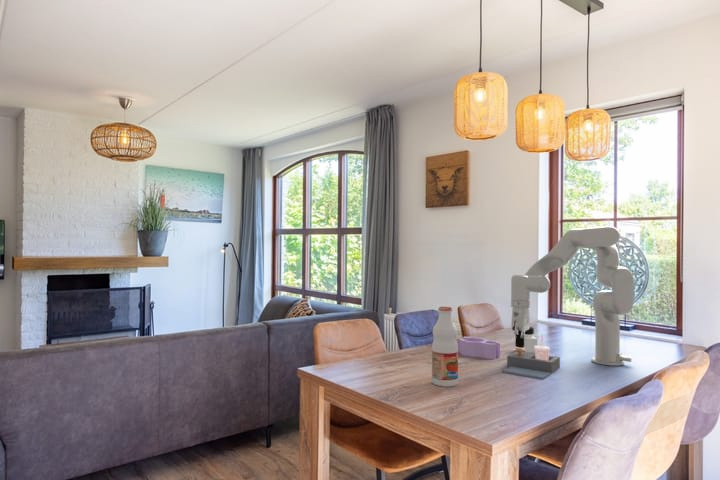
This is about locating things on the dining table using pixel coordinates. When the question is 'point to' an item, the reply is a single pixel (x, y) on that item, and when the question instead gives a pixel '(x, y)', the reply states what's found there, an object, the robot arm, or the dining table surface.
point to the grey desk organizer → (533, 362)
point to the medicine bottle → (529, 341)
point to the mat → (526, 372)
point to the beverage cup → (542, 351)
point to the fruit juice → (445, 350)
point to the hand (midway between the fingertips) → (519, 346)
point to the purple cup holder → (478, 347)
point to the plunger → (520, 350)
